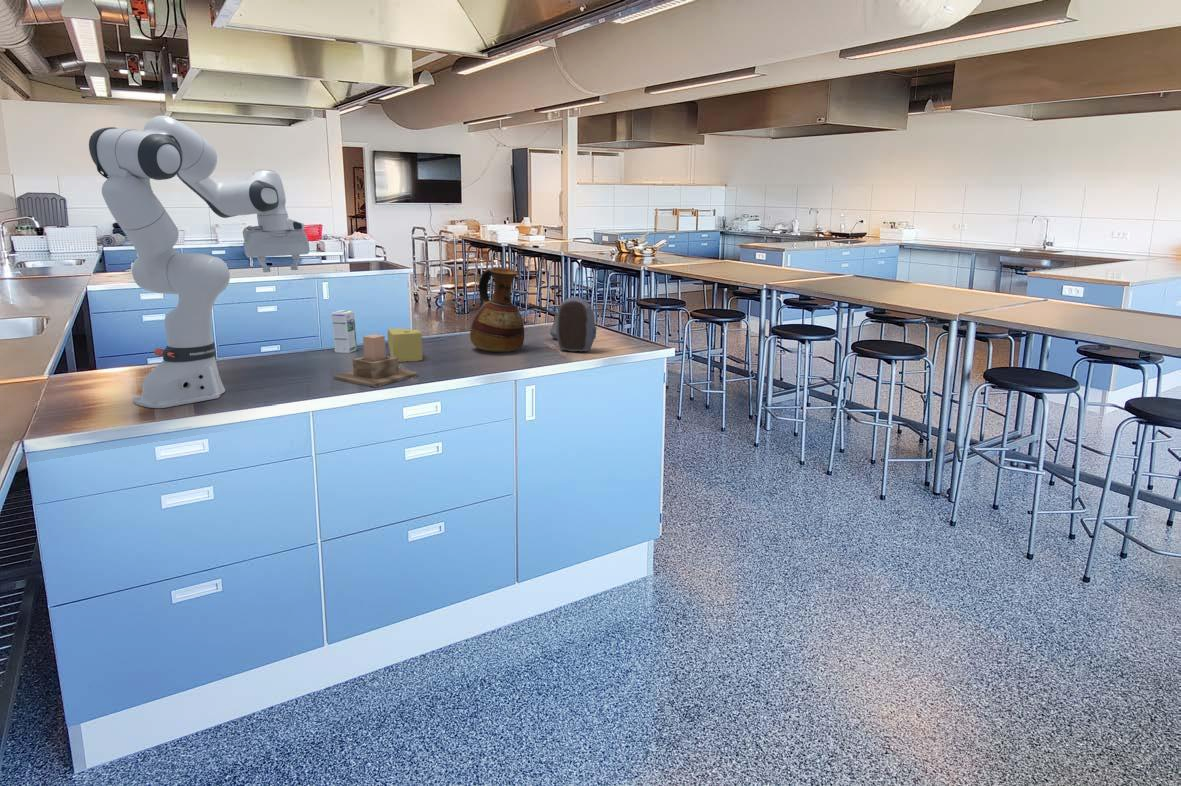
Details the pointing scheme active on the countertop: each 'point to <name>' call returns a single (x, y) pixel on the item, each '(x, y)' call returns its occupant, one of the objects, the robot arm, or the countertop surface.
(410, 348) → the cheese
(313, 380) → the countertop surface
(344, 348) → the syrup box
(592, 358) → the countertop surface
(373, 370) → the socket stand
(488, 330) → the ceramic pitcher
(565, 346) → the small grey backpack
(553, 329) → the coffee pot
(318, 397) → the countertop surface
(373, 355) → the rust peg
